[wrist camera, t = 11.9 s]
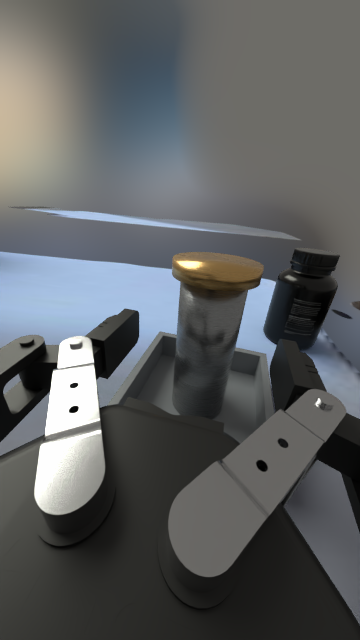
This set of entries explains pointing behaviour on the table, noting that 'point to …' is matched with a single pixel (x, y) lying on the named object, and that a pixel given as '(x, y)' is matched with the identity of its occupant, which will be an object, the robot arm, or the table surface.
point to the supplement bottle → (302, 297)
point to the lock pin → (208, 326)
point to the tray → (240, 397)
